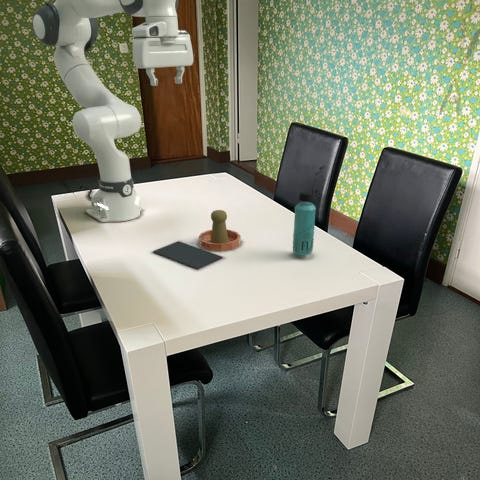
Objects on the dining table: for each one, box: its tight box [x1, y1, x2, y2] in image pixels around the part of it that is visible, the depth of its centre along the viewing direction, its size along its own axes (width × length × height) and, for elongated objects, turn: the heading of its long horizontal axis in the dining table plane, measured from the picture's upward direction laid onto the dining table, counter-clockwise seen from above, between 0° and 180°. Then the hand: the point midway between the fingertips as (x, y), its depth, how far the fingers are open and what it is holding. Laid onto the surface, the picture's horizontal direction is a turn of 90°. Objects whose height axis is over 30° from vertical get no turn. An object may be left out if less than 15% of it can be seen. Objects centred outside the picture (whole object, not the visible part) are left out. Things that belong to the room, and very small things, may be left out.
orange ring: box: [197, 229, 242, 252], centre depth 154 cm, size 14×14×2 cm
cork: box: [210, 209, 229, 244], centre depth 152 cm, size 6×6×11 cm
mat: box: [152, 240, 223, 270], centre depth 147 cm, size 20×11×1 cm, turn 49°
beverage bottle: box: [292, 190, 317, 256], centre depth 141 cm, size 6×7×20 cm
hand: (166, 84), depth 138 cm, fingers open, 8 cm apart
